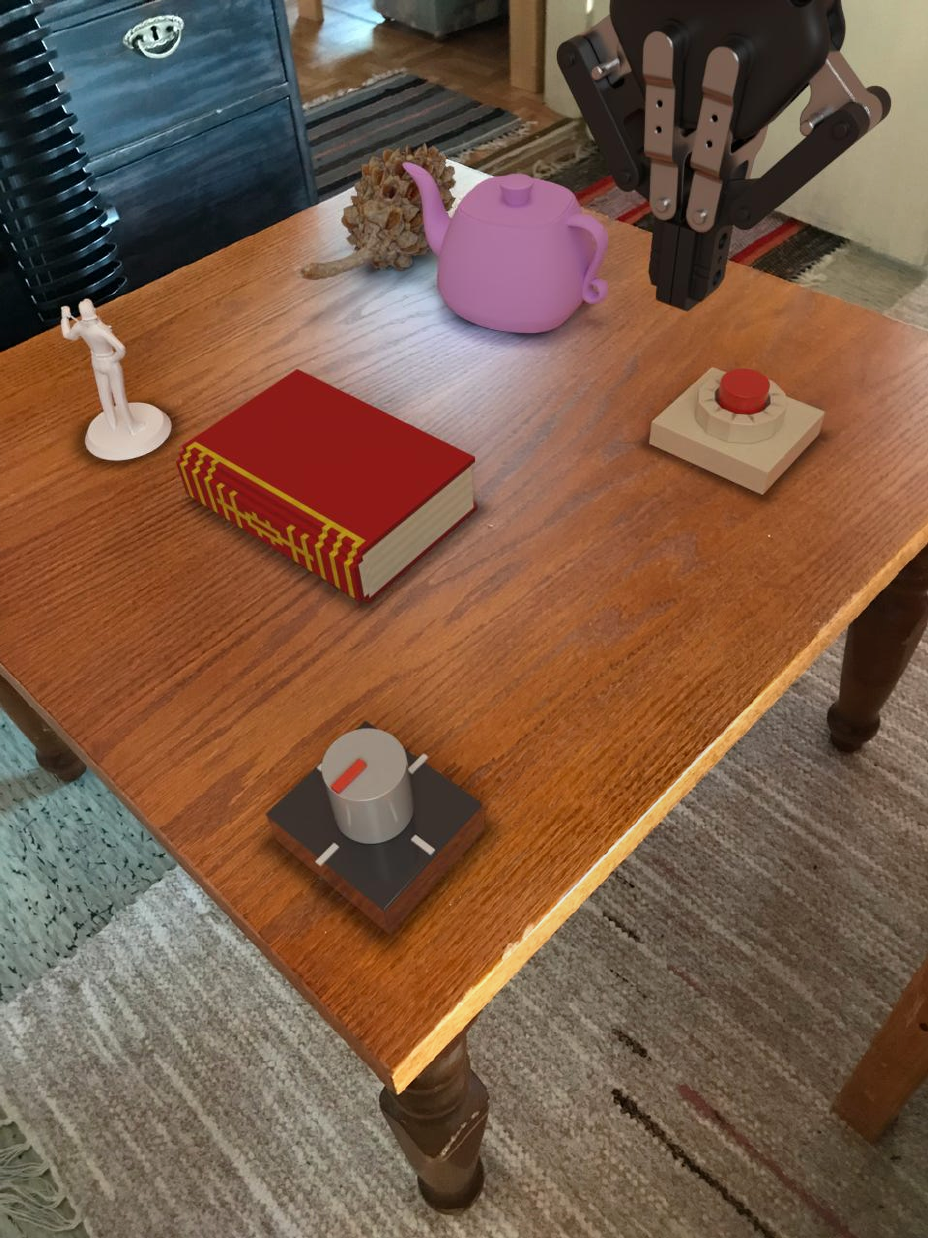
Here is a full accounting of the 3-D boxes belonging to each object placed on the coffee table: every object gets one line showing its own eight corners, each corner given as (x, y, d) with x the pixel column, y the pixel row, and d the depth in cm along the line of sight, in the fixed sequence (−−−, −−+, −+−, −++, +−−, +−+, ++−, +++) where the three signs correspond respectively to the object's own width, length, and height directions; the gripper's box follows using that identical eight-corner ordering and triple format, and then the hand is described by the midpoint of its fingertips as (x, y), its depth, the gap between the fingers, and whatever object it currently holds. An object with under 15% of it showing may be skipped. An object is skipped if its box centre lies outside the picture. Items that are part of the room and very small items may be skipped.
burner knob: (371, 760, 56) (361, 710, 52) (430, 801, 54) (423, 753, 50) (317, 814, 54) (302, 766, 50) (376, 859, 52) (365, 813, 48)
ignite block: (819, 434, 78) (831, 392, 75) (762, 495, 73) (772, 453, 70) (708, 388, 82) (715, 347, 79) (648, 443, 78) (653, 402, 75)
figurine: (188, 417, 83) (147, 287, 74) (136, 468, 78) (86, 338, 69) (120, 398, 85) (72, 270, 76) (66, 447, 81) (8, 318, 72)
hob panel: (488, 826, 56) (487, 798, 54) (386, 940, 52) (379, 914, 50) (374, 744, 60) (368, 714, 58) (271, 843, 56) (260, 816, 54)
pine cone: (397, 213, 104) (388, 116, 97) (478, 231, 101) (474, 131, 94) (278, 319, 92) (256, 216, 84) (365, 343, 89) (350, 238, 81)
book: (189, 502, 76) (172, 451, 72) (307, 419, 82) (297, 368, 78) (361, 610, 67) (351, 559, 64) (477, 508, 74) (475, 456, 70)
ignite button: (774, 398, 75) (779, 379, 74) (750, 422, 73) (755, 402, 72) (732, 381, 77) (736, 362, 75) (708, 404, 75) (711, 385, 74)
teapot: (631, 288, 93) (643, 163, 84) (577, 364, 85) (584, 235, 76) (443, 247, 99) (436, 127, 90) (378, 315, 92) (362, 190, 83)
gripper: (502, -223, 30) (507, 288, 43) (919, -180, 24) (780, 397, 37) (638, -264, 34) (605, 220, 47) (1030, -235, 28) (868, 309, 41)
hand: (683, 298), depth 42 cm, fingers closed
